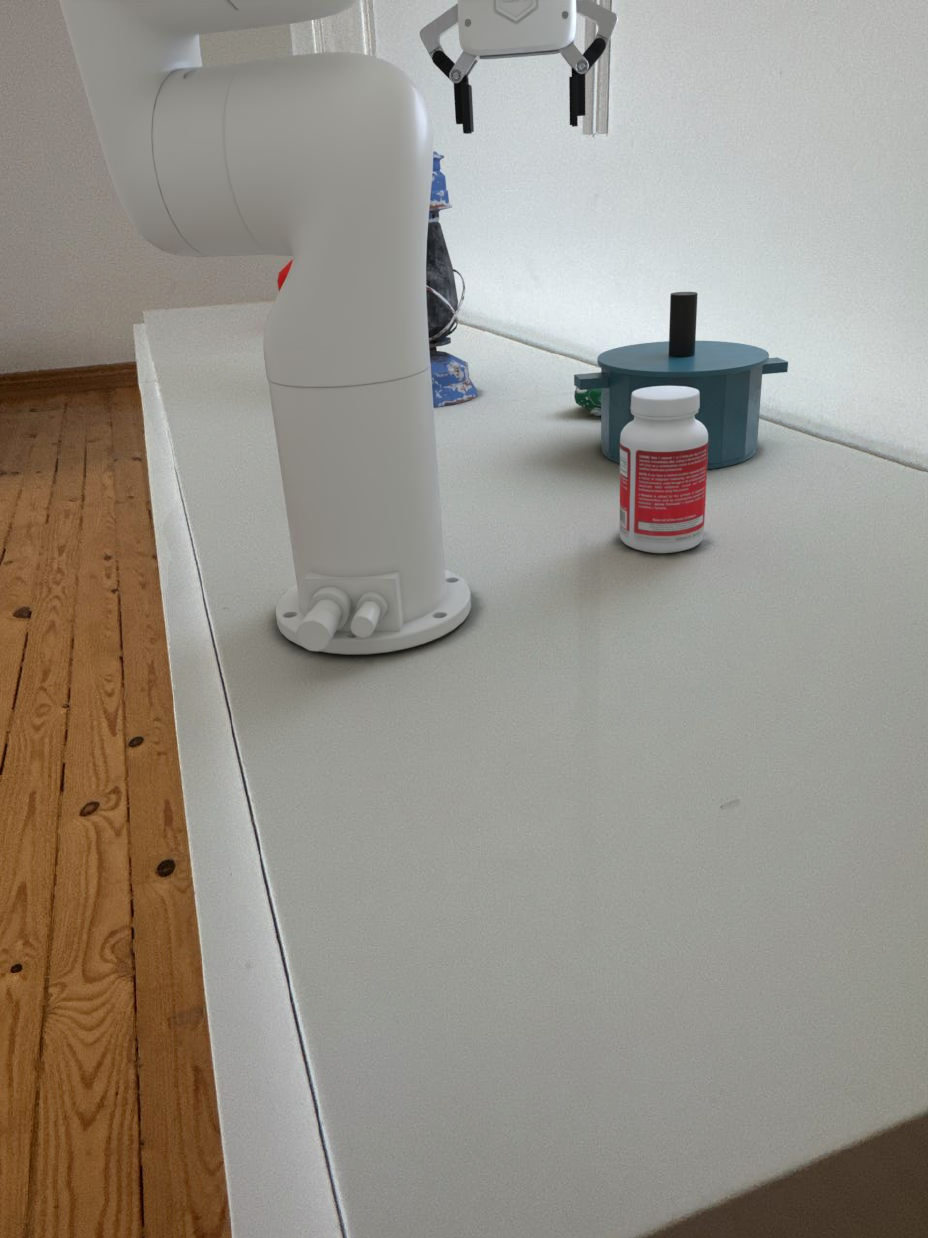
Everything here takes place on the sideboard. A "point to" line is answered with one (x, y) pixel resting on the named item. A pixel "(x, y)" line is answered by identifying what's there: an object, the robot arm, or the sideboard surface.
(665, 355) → the pot lid
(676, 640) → the sideboard surface
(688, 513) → the pill bottle
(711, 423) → the teal cooking pot
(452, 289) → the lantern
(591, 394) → the gaming controller
